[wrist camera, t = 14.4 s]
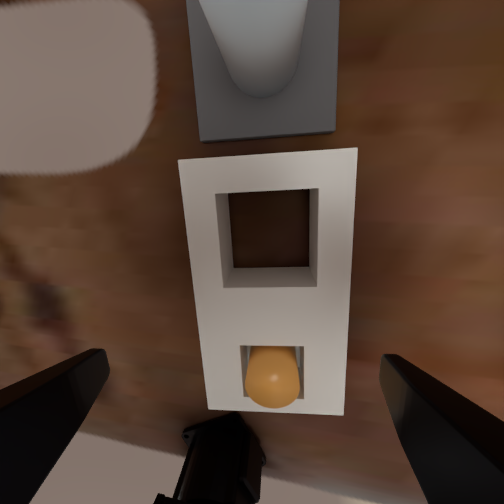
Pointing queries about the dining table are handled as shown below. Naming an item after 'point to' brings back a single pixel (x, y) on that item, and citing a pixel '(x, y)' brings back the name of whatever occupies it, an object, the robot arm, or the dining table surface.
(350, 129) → the dining table surface
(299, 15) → the cylinder
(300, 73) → the mat
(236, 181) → the white slotted block
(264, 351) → the plunger
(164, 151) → the dining table surface
